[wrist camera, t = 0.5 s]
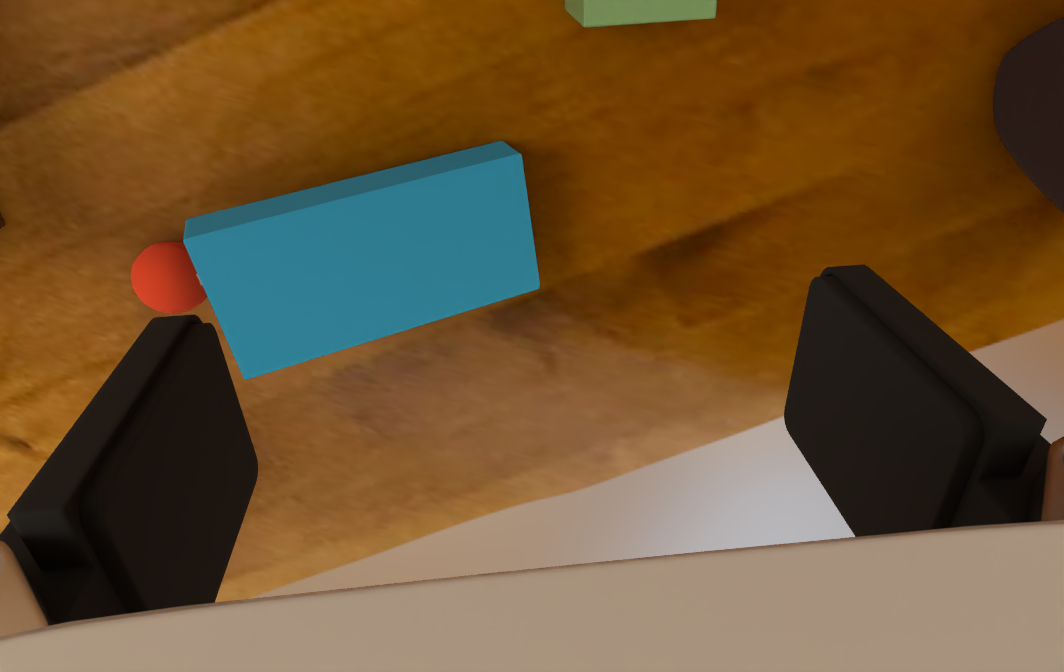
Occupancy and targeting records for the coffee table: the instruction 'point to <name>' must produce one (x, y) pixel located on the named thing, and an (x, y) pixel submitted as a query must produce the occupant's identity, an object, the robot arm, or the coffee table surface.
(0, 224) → the block
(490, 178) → the lever
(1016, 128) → the cup
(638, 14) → the green toy block
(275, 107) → the coffee table surface
